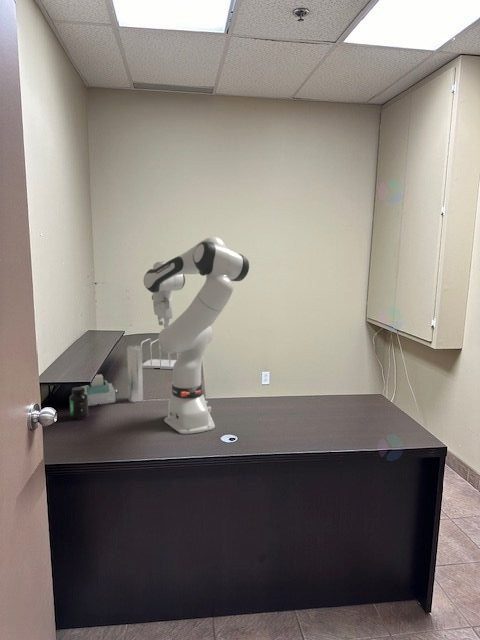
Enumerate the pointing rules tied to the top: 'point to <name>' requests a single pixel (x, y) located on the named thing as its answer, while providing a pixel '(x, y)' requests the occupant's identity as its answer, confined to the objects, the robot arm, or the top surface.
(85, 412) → the supplement bottle
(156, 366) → the file sorter
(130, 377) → the silver metal cylinder
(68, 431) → the top surface
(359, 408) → the top surface
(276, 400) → the top surface
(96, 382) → the pump block
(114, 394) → the motor housing
